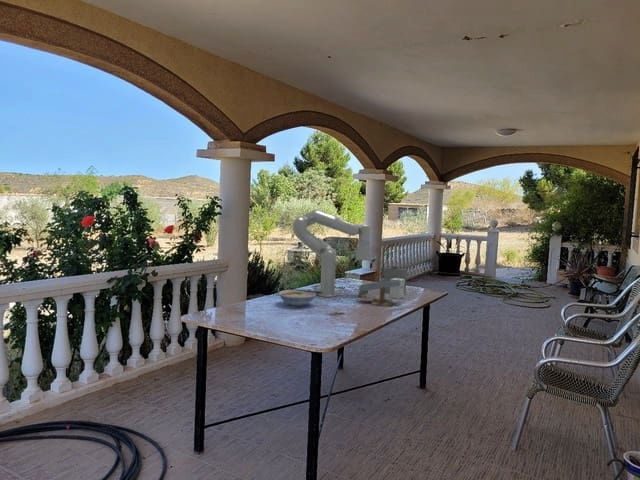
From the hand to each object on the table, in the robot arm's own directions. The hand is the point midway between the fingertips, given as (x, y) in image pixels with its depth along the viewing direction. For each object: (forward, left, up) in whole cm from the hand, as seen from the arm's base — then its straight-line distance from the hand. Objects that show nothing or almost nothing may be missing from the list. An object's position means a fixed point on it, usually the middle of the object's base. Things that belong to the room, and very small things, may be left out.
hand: (363, 268), depth 309 cm
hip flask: (+21, +20, -19) cm, 35 cm away
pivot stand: (+14, -16, -19) cm, 29 cm away
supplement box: (+23, +5, -19) cm, 30 cm away
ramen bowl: (-36, -38, -19) cm, 56 cm away
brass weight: (0, 0, -19) cm, 19 cm away
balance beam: (+13, -16, -12) cm, 24 cm away
